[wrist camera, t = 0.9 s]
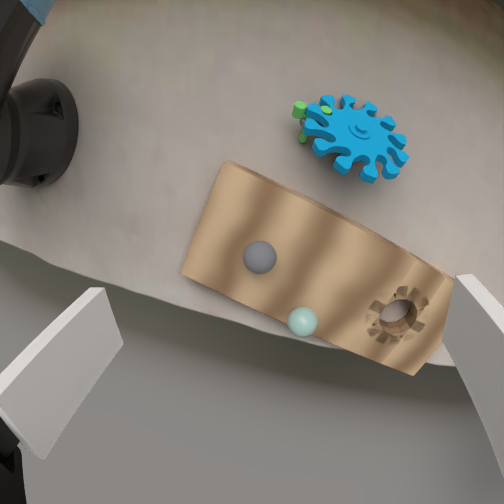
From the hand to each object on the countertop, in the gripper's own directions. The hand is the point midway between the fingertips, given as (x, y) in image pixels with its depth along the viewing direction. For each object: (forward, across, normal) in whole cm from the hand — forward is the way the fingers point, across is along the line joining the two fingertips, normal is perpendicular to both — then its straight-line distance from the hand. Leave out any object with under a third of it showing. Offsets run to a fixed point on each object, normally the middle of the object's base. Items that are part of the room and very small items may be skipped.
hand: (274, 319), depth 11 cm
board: (+22, +5, -10) cm, 25 cm away
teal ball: (+18, +1, -13) cm, 22 cm away
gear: (+23, +6, +6) cm, 24 cm away
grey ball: (+18, -3, -5) cm, 19 cm away
